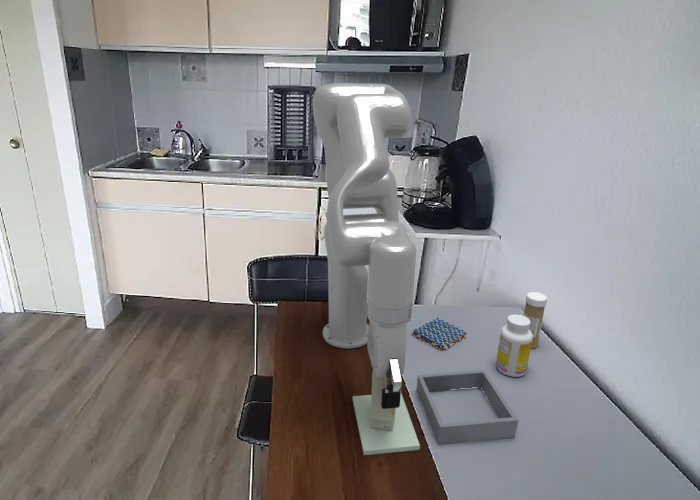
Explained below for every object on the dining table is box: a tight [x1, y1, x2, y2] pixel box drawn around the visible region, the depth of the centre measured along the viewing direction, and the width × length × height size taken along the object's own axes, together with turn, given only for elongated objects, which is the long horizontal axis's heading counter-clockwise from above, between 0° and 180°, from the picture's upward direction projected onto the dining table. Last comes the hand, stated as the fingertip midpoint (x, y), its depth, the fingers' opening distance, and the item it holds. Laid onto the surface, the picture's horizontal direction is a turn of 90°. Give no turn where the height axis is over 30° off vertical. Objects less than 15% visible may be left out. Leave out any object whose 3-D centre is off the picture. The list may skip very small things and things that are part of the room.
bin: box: [416, 369, 519, 445], centre depth 86 cm, size 15×15×4 cm
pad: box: [352, 393, 421, 456], centre depth 83 cm, size 14×10×1 cm
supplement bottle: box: [495, 314, 533, 378], centre depth 97 cm, size 7×7×13 cm
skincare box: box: [370, 369, 396, 430], centre depth 81 cm, size 6×4×12 cm
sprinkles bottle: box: [523, 291, 548, 349], centre depth 106 cm, size 5×5×14 cm
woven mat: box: [411, 317, 467, 351], centre depth 112 cm, size 10×11×2 cm
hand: (384, 388), depth 81 cm, fingers open, 9 cm apart
